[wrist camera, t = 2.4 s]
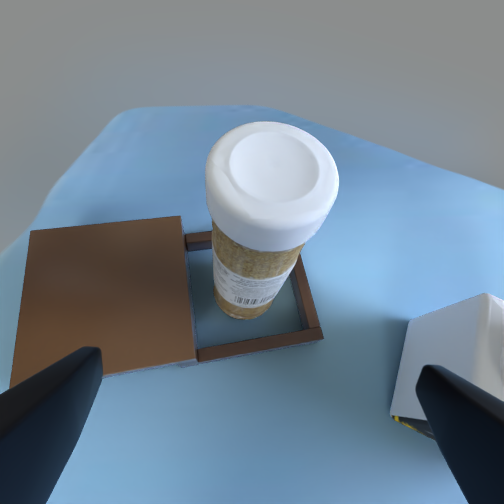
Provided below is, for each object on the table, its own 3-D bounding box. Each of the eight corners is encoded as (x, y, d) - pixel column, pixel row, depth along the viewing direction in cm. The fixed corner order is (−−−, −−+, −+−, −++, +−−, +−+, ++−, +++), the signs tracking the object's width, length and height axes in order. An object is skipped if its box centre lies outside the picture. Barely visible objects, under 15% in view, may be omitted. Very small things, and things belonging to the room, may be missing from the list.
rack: (317, 342, 21) (338, 332, 17) (50, 392, 18) (7, 393, 14) (287, 230, 24) (299, 203, 21) (61, 257, 21) (30, 230, 18)
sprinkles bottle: (276, 267, 23) (343, 127, 11) (270, 326, 21) (344, 237, 9) (218, 257, 23) (218, 104, 10) (206, 316, 21) (189, 211, 8)
